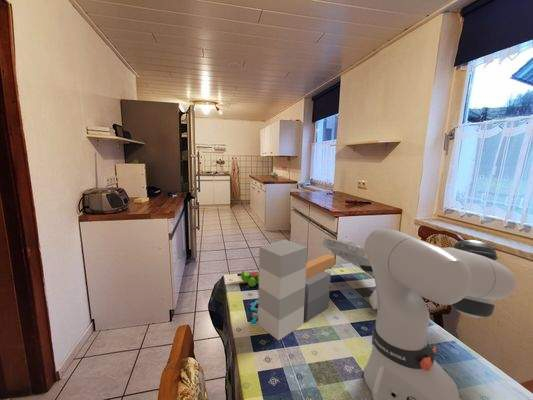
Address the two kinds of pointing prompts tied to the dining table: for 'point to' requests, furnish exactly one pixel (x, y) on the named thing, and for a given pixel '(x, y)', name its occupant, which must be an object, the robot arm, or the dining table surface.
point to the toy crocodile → (250, 278)
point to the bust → (374, 299)
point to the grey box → (316, 295)
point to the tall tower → (281, 287)
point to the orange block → (319, 265)
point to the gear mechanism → (255, 315)
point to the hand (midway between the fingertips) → (337, 243)
